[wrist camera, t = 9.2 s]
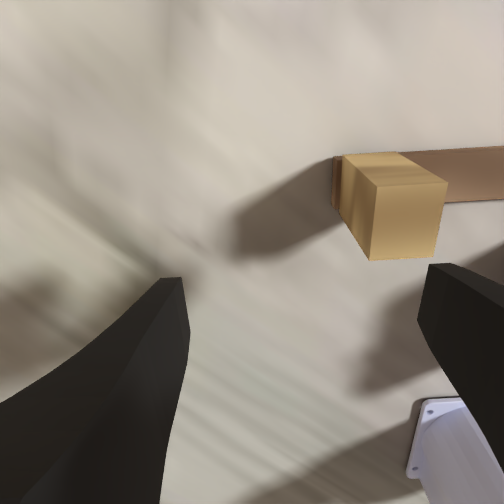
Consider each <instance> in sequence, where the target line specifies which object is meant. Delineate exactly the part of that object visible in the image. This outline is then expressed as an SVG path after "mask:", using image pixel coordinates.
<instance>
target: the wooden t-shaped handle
mask: <svg viewBox="0 0 504 504" xmlns="http://www.w3.org/2000/svg"><path fill="white" fill-rule="evenodd" d="M491 199H504V146H492V147H476V148H461V149H445V150H429V151H413V152H379V153H364V154H348V155H343V156H334V157H333V175H332V196H331V204H332V206H333V208H334V209H339V214H340V216H341V217H342V219H343V220H344V222H345V224H346V225H347V227H348V228H349V230H350V231H351V233H352V235H353V236H354V238H355V239H356V241H357V242H358V244H359V246H360V247H361V249H362V250H363V252H364V254H365V255H366V257H367V258H368V260H369V261H375V260H391V259H408V258H424V257H433V254H434V250H435V245H436V240H437V235H438V230H439V225H440V220H441V215H442V211H443V206H444V202H459V201H475V200H491Z"/></svg>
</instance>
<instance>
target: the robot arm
mask: <svg viewBox="0 0 504 504" xmlns="http://www.w3.org/2000/svg"><path fill="white" fill-rule="evenodd" d="M417 321H418V324H419V326H420V328H421V331H422V333H423V335H424V337H425V340H426V342H427V344H428V346H429V348H430V350H431V352H432V353H433V355H434V357H435V358H436V360H437V361H438V363H439V365H440V366H441V368H442V369H443V371H444V372H445V374H446V376H447V377H448V379H449V380H450V382H451V383H452V385H453V386H454V388H455V390H456V391H457V393H458V394H459V396H460V397H459V398H441V399H428V400H425V401H424V402H423V404H422V407H421V411H420V415H419V419H418V424H417V428H416V432H415V436H414V440H413V444H412V448H411V452H410V457H409V461H408V465H407V469H406V475H407V477H408V478H410V479H420V481H421V484H422V486H423V488H424V491H425V493H426V495H427V498H428V500H429V502H430V504H504V286H502V285H500V284H498V283H496V282H494V281H491V280H489V279H487V278H485V277H483V276H481V275H479V274H476V273H474V272H472V271H470V270H467V269H465V268H463V267H460V266H457V265H455V264H452V263H440V264H429V267H428V271H427V276H426V281H425V285H424V290H423V295H422V299H421V304H420V309H419V313H418V318H417ZM189 342H190V326H189V320H188V314H187V308H186V302H185V296H184V290H183V284H182V278H181V277H175V278H160V279H159V280H158V281H157V282H156V283H155V284H154V285H153V286H152V287H151V288H150V289H149V290H148V291H147V292H146V293H145V294H144V295H143V296H142V297H141V298H140V299H139V300H138V301H137V302H136V303H134V304H133V305H132V306H131V307H130V308H129V309H128V310H127V311H126V312H125V313H124V314H123V315H122V316H121V317H120V318H119V319H118V320H116V321H115V322H114V323H113V324H112V325H111V326H109V327H108V328H107V329H106V330H105V331H104V332H102V333H101V334H100V335H99V336H98V337H97V338H95V339H94V340H93V341H92V342H91V343H89V344H88V345H87V346H86V347H84V348H83V349H82V350H80V351H79V352H78V353H77V354H75V355H74V356H72V357H71V358H70V359H68V360H67V361H65V362H64V363H63V364H61V365H60V366H59V367H57V368H56V369H54V370H53V371H51V372H50V373H48V374H47V375H45V376H43V377H42V378H40V379H39V380H37V381H36V382H34V383H32V384H31V385H29V386H28V387H26V388H24V389H23V390H21V391H20V392H18V393H16V394H15V395H13V396H12V397H10V398H8V399H7V400H5V401H3V402H1V403H0V504H159V502H160V494H161V487H162V480H163V473H164V466H165V459H166V452H167V447H168V442H169V437H170V432H171V428H172V424H173V420H174V416H175V412H176V408H177V404H178V399H179V395H180V391H181V387H182V383H183V379H184V374H185V370H186V366H187V360H188V352H189Z"/></svg>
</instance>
